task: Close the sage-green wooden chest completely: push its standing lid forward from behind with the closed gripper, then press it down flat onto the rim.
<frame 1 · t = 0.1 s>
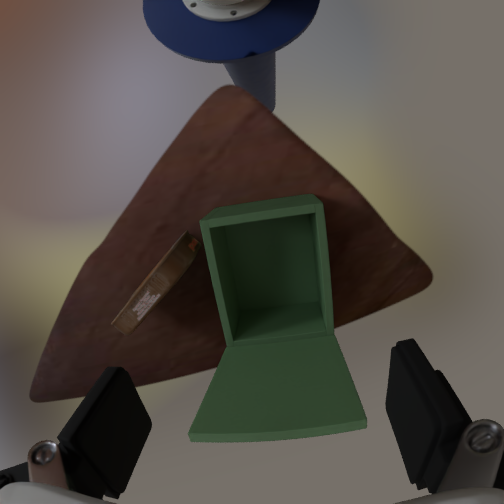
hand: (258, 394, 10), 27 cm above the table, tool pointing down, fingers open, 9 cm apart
chest: (272, 257, 37), on the table
tin: (166, 272, 39), on the table
lid: (279, 380, 24), point 15 cm above the table, hinge at 80.0°
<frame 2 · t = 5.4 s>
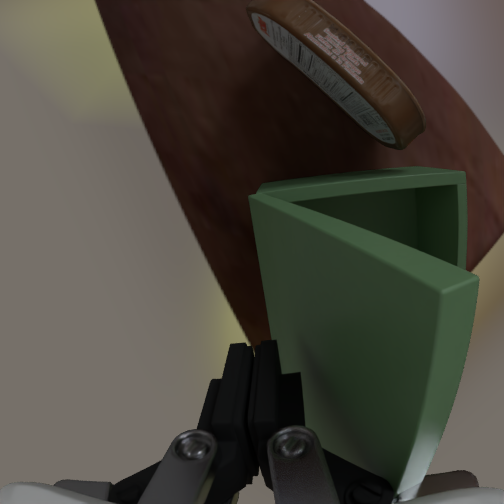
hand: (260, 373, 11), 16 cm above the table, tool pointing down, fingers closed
chest: (350, 238, 26), on the table
tin: (325, 80, 22), on the table
lid: (310, 353, 12), point 15 cm above the table, hinge at 75.9°, touching gripper
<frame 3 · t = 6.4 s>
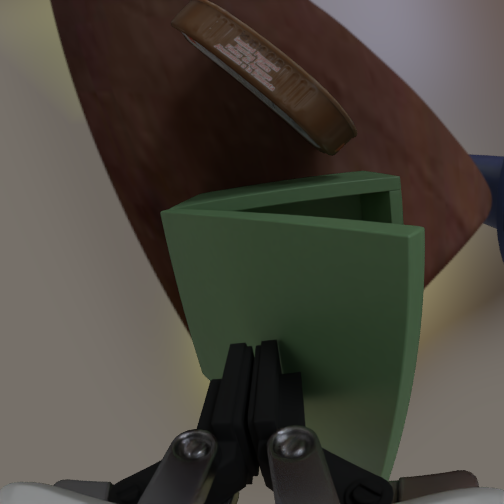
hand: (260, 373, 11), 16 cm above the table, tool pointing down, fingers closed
chest: (291, 247, 26), on the table
tin: (263, 86, 22), on the table
lid: (254, 343, 13), point 14 cm above the table, hinge at 50.9°, touching gripper
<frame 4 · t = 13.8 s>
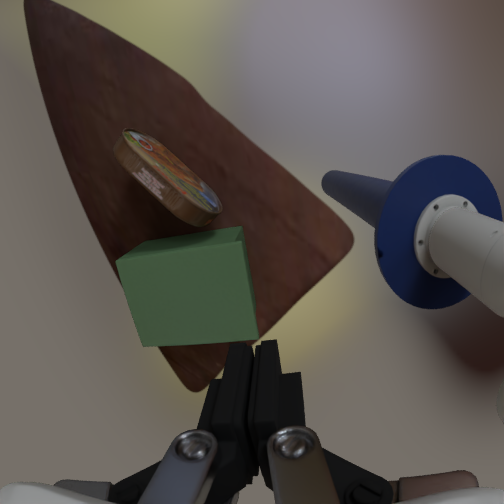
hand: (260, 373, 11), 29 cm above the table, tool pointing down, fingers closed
chest: (199, 274, 41), on the table
tin: (177, 173, 38), on the table
lid: (186, 299, 34), point 8 cm above the table, hinge at -0.2°, touching chest
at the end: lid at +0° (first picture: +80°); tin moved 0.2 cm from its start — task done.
